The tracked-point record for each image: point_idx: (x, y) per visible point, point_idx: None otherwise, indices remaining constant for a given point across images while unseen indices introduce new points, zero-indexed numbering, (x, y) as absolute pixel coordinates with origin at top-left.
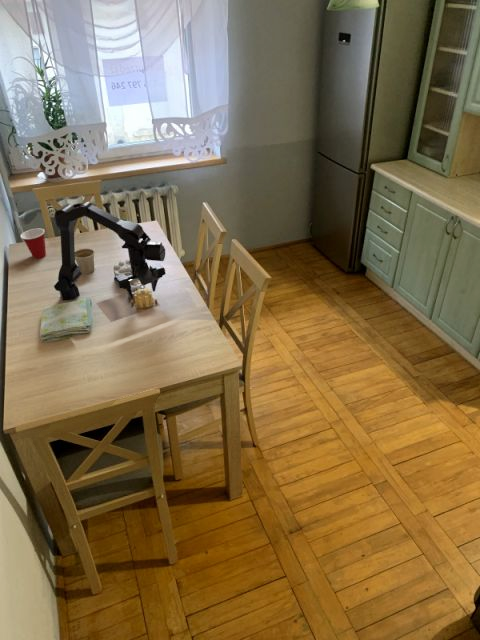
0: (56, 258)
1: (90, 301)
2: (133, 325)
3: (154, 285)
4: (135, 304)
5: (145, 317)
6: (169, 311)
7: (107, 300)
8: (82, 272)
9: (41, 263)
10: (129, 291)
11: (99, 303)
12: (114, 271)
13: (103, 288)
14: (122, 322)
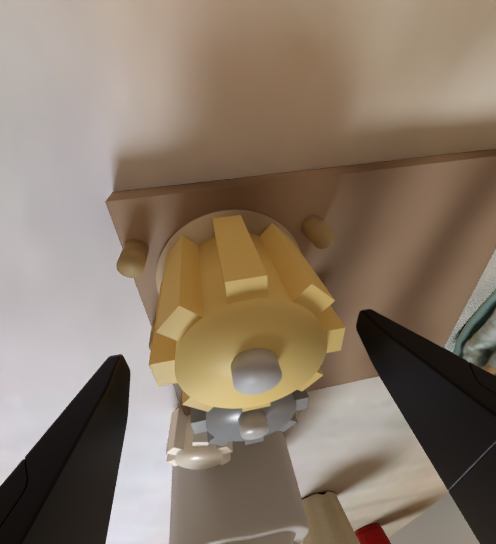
0: None
1: (491, 371)
2: (445, 5)
3: (73, 438)
4: None
5: (291, 91)
6: (8, 51)
7: None
8: (335, 495)
9: (381, 514)
10: (488, 383)
11: None
12: (305, 535)
13: (329, 435)
14: (462, 128)
